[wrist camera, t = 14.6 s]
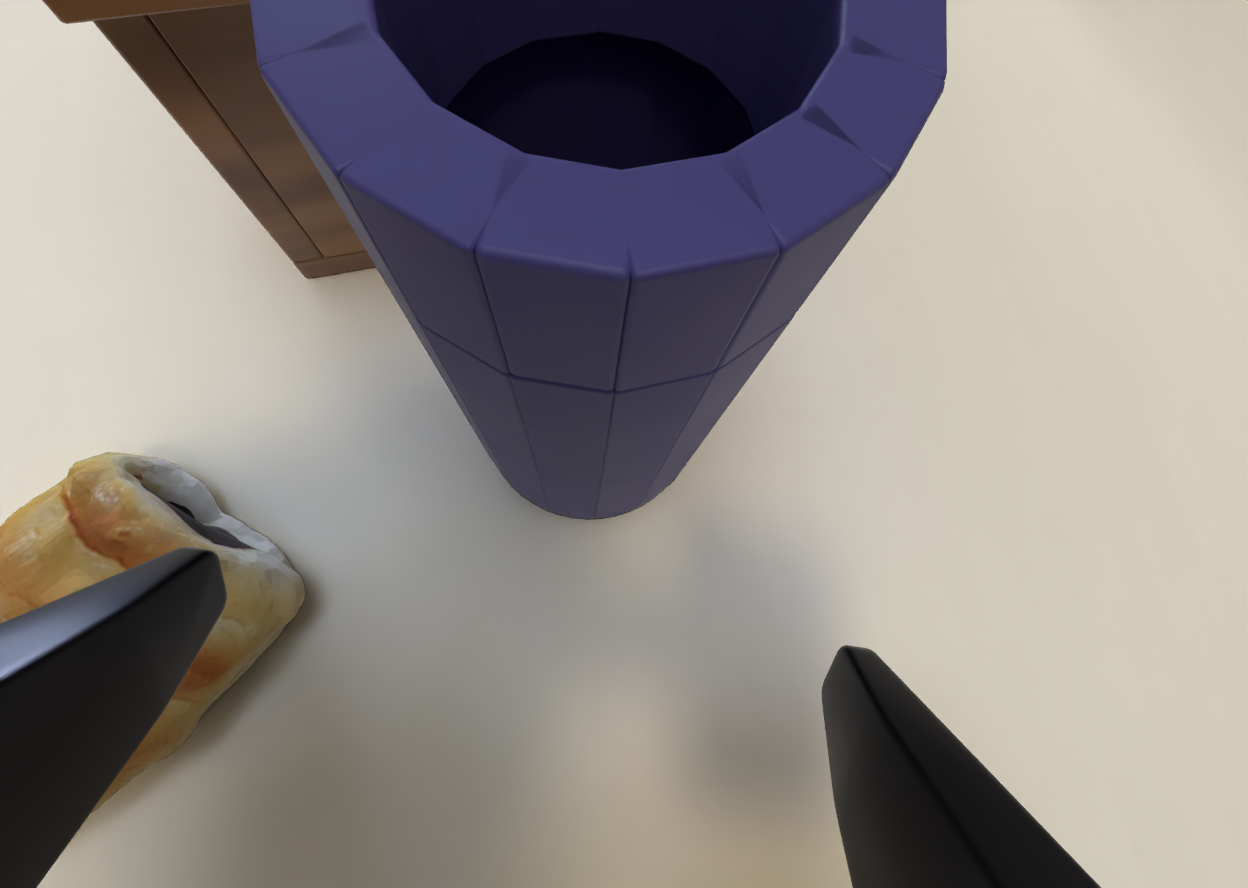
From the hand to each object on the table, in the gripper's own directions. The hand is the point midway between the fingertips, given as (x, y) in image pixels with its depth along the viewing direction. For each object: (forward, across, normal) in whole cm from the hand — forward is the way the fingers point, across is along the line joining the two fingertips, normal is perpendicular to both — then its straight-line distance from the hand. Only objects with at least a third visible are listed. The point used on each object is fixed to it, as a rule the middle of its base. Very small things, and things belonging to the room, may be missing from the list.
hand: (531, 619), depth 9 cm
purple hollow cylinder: (+10, 0, +2) cm, 10 cm away
